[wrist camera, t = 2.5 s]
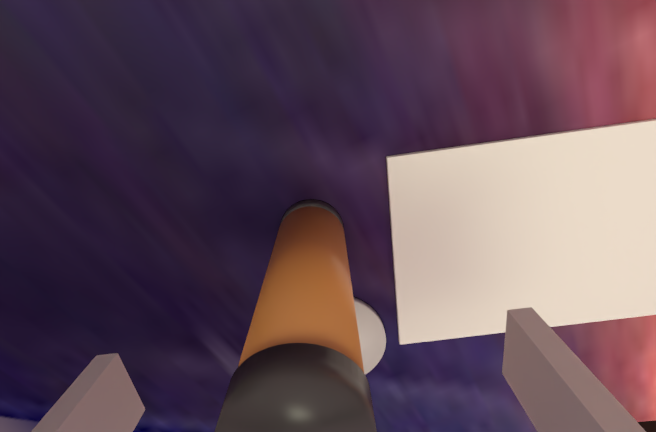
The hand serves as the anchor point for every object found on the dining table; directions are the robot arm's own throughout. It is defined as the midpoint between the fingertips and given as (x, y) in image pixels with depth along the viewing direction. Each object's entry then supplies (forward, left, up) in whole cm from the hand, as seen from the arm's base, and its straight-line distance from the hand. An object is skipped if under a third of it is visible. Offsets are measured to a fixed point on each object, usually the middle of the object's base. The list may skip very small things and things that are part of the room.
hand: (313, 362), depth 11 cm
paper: (+15, -3, -11) cm, 18 cm away
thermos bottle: (0, 0, -11) cm, 11 cm away
